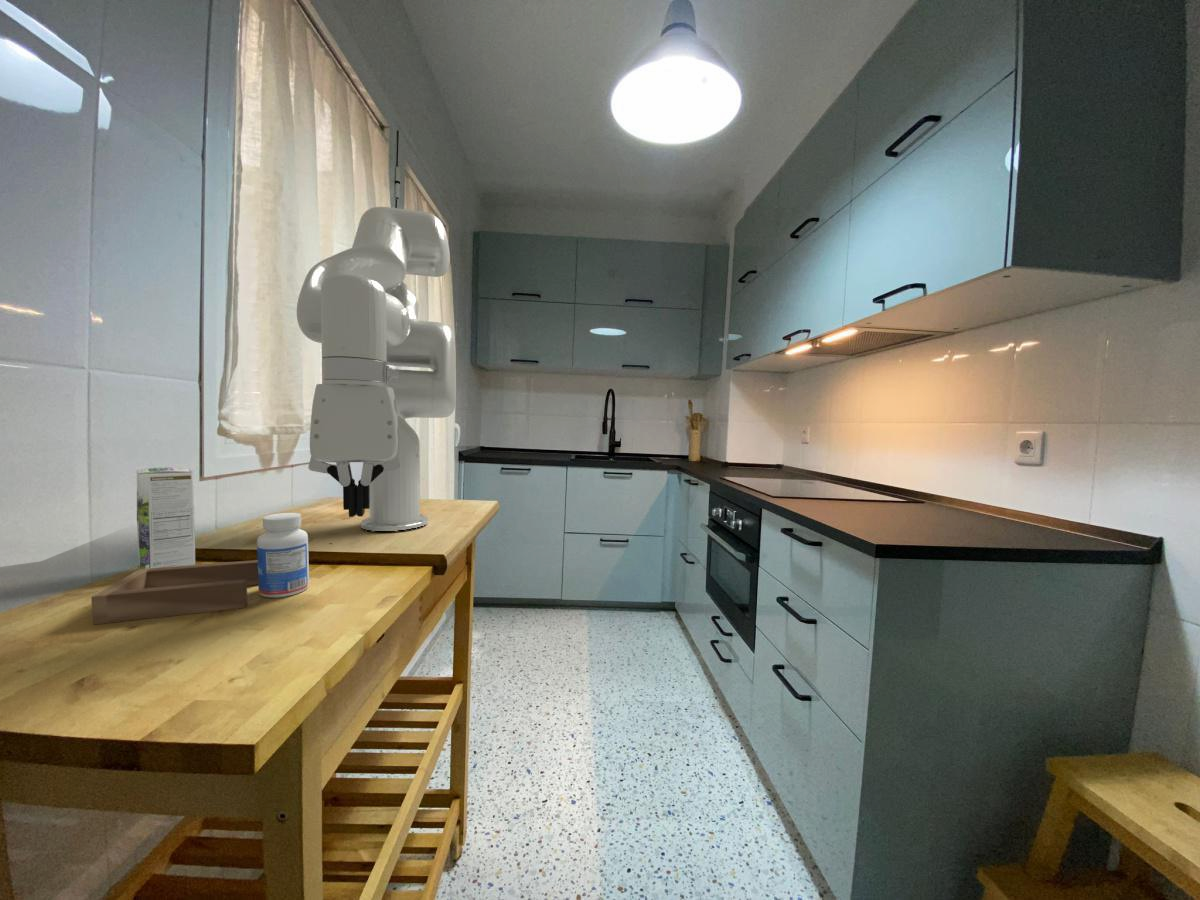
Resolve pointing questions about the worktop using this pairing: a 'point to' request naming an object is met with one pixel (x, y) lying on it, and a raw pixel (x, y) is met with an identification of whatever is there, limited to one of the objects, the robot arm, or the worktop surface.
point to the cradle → (175, 591)
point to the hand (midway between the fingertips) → (356, 514)
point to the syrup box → (165, 517)
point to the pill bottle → (282, 556)
